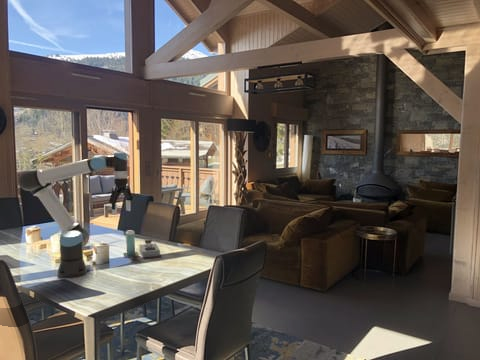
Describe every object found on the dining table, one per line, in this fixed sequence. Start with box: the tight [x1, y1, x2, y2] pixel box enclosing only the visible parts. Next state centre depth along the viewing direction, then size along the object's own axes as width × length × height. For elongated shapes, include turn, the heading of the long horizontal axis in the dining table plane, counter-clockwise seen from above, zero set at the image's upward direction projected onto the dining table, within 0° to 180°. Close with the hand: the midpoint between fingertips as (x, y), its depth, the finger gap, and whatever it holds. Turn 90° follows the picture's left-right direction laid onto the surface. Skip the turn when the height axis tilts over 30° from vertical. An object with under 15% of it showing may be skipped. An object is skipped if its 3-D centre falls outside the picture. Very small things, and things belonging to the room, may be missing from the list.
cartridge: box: [125, 229, 136, 256], centre depth 248 cm, size 5×5×16 cm
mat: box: [122, 251, 140, 259], centre depth 249 cm, size 9×9×1 cm
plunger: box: [144, 238, 153, 247], centre depth 257 cm, size 5×5×7 cm
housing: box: [139, 243, 161, 259], centre depth 253 cm, size 17×11×4 cm, turn 22°
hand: (121, 212), depth 228 cm, fingers open, 13 cm apart
